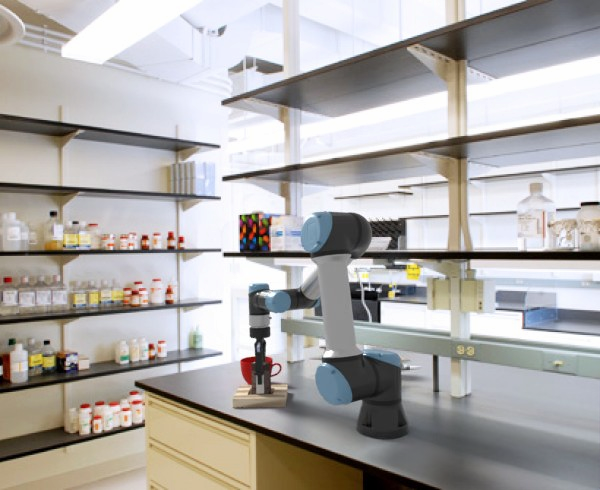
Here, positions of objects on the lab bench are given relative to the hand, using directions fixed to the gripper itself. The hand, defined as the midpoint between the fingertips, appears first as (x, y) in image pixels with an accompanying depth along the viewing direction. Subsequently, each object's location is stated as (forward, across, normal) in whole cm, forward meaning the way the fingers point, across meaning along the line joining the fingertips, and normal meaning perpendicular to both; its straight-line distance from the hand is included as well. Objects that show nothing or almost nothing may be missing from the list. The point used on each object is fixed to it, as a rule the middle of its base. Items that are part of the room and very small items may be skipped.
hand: (261, 390), depth 177 cm
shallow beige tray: (+3, 0, 0) cm, 3 cm away
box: (+2, 0, 0) cm, 2 cm away
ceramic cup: (+4, +20, +2) cm, 21 cm away
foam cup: (+4, +31, -45) cm, 55 cm away
